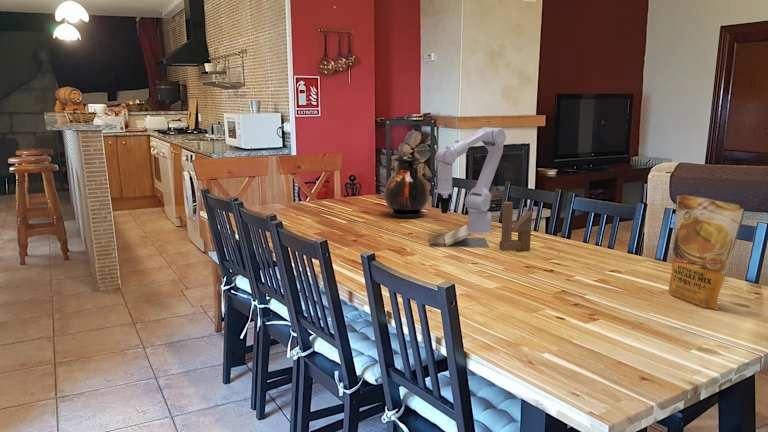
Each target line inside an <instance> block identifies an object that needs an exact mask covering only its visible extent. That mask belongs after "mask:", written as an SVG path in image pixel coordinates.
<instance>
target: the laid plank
mask: <svg viewBox="0 0 768 432" xmlns="http://www.w3.org/2000/svg"><path fill="white" fill-rule="evenodd" d="M428 239H429V240H428V241H429V247H430V246H446V244H445V239H444V235H443V234H429V236H428Z"/></svg>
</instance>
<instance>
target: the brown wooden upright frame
mask: <svg viewBox="0 0 768 432" xmlns="http://www.w3.org/2000/svg"><path fill="white" fill-rule="evenodd" d="M513 207H514V203H513V202H512V201H502V215H501V216H502V219H501V240H499V245H498V246H499V247H498V248H499V250H501V251H502V252H507V251H516V252H525V251H526V252H527V251H528V252H529V251H531V237H532V234H531V232H532V219H533V217H532V216H533V213H532V212H531V211H526V212H525V213H523V214H522V216H521V217H520V218H519V219H518V220H517V221H516V223H514V224H513V215H514V214H513V210H514V208H513ZM512 233H517V239H512Z"/></svg>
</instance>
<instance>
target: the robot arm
mask: <svg viewBox="0 0 768 432" xmlns="http://www.w3.org/2000/svg"><path fill="white" fill-rule="evenodd" d="M506 139H507V135H506V132H505V130H504V129H503V128H502V127H489V126H488V127H487V126H483V127H481V128H479V129H478V130H477V131H476V132H474V133H473V134H472V135H470V136H469V137H467V138H466V139H465V140H463V139H456V140H454V142H453V143H452V144H450V145H446V147H445V148H439V149H438V150H437V151H436V154H435V155H434V159H435V161H436V166H437V189H434V193H437V200H438V201H439V205H440V212H441V214H448V211H449V207H450V203H451V201H452V199H453V195H452V194H453V164H454V163H455V162H456V159H458V158H459V157H461V156H462V155H464V154H466V153H467V152H468V150H469V148H471V147H473V146H475V145H477V144H478V143H482V144H483V146H484V147H485V148H486V149H487V151H488V153H487V155H486V158H485V161H484V163H483V166H482V168H481V172H480V175H479V177H478V180H477V182H476V185H475V186H474V187H473V188H472V189H470V190H469V193H468V195H467V196H466V197H465V199H464V205H465V208H467V211H468V212H467V213H468V216H467V219H468V220H467V227H468V230H469V233H470V234H491V231H492V213H491V211H488V210H489V209H490V207H491V199H492V195H491V193H490V191H489V190H490V188H491V184H492V182H493V180H494V177H495V174H496V171H497V168H498V166H499V163H500V160H501V157H502V155H503V151H504V144H505V142H506Z"/></svg>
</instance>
